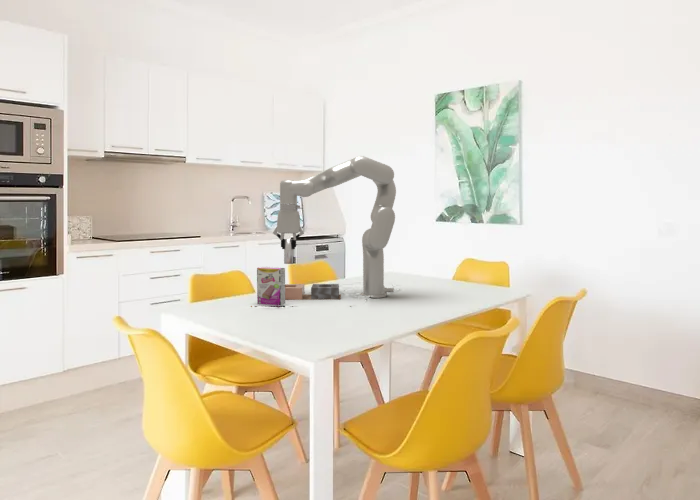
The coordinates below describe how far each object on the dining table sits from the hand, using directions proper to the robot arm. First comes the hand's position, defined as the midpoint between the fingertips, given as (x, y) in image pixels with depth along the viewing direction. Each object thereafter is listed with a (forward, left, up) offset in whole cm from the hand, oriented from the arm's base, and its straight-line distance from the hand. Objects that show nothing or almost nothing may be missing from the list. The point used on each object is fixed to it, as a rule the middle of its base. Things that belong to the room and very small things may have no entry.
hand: (288, 248), depth 248 cm
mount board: (-8, 0, -23) cm, 24 cm away
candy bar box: (+6, +16, -23) cm, 29 cm away
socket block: (0, 0, -22) cm, 22 cm away
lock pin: (0, 0, -7) cm, 7 cm away
